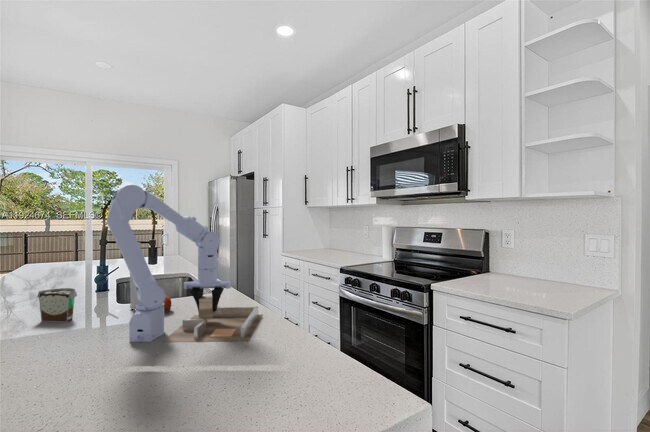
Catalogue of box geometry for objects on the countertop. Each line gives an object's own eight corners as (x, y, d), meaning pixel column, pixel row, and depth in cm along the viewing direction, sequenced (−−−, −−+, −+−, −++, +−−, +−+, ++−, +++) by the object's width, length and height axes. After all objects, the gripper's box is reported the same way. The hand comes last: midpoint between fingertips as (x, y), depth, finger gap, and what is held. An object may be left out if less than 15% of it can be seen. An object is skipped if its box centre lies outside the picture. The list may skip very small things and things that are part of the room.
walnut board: (248, 344, 90) (248, 341, 90) (161, 345, 90) (161, 342, 90) (263, 317, 114) (263, 314, 114) (194, 317, 114) (194, 315, 114)
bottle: (138, 310, 122) (138, 243, 122) (126, 310, 123) (126, 243, 123) (148, 306, 127) (148, 242, 127) (137, 306, 128) (136, 242, 128)
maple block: (212, 318, 104) (211, 299, 104) (199, 318, 104) (199, 299, 104) (215, 314, 108) (215, 295, 108) (203, 314, 108) (203, 295, 108)
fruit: (170, 314, 113) (158, 294, 113) (150, 326, 113) (138, 306, 113) (180, 307, 121) (169, 288, 121) (162, 318, 121) (151, 299, 121)
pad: (230, 337, 93) (230, 336, 93) (209, 337, 93) (209, 336, 93) (236, 329, 99) (236, 328, 99) (216, 330, 99) (216, 329, 99)
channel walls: (244, 338, 92) (244, 327, 92) (172, 339, 92) (172, 328, 92) (258, 315, 113) (258, 306, 113) (199, 315, 113) (199, 307, 113)
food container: (86, 316, 115) (86, 288, 115) (71, 322, 109) (71, 292, 109) (54, 315, 116) (54, 287, 116) (37, 321, 110) (37, 291, 110)
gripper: (233, 266, 110) (233, 307, 110) (189, 266, 109) (189, 307, 110) (227, 269, 103) (227, 313, 103) (180, 270, 102) (181, 313, 102)
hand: (207, 310), depth 106 cm, fingers closed on maple block, 4 cm apart
